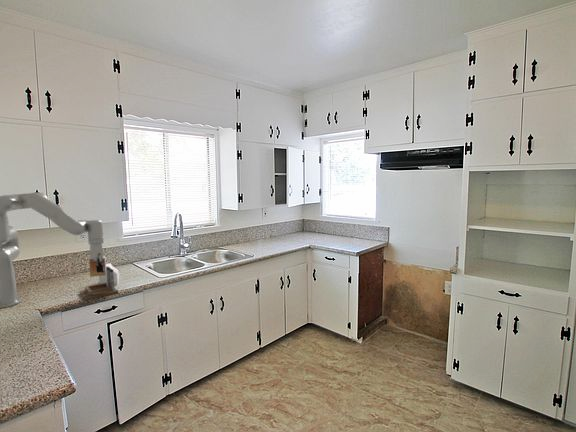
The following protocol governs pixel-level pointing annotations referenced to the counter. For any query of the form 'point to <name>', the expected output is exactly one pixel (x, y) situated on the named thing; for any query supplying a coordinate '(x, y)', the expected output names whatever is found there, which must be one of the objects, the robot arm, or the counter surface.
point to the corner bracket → (115, 273)
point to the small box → (94, 270)
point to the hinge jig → (100, 288)
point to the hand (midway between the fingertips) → (98, 270)
